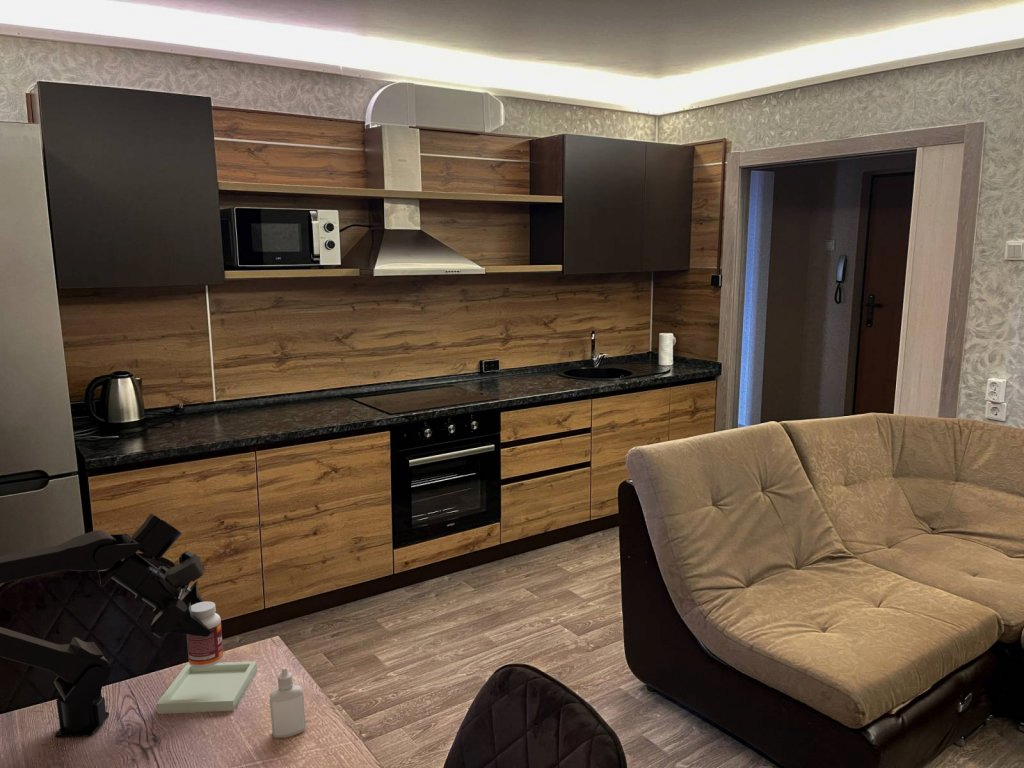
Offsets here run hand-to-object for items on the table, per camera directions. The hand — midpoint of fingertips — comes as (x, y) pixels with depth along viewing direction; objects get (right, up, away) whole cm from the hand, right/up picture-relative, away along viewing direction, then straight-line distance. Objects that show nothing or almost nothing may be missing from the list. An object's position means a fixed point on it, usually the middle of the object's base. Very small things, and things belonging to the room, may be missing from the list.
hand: (211, 626), depth 142 cm
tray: (-1, -13, +2) cm, 13 cm away
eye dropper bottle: (+18, -15, -11) cm, 26 cm away
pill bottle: (-1, -7, +1) cm, 7 cm away
